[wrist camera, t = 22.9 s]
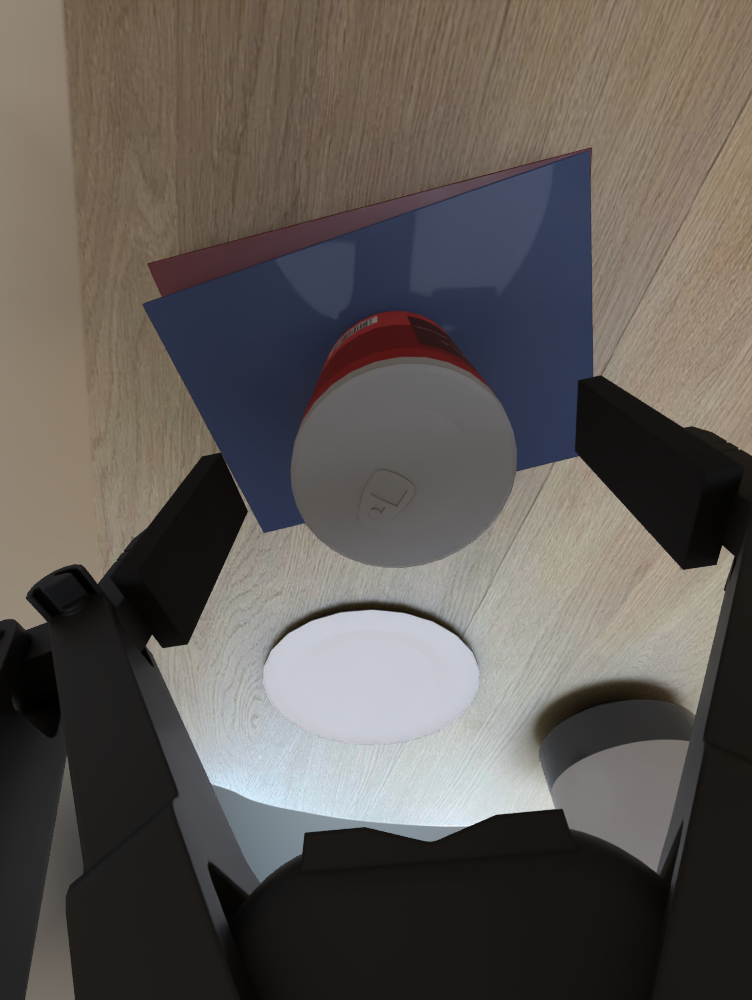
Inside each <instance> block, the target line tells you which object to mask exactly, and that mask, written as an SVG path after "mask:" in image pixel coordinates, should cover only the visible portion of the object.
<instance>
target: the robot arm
mask: <svg viewBox="0 0 752 1000" xmlns="http://www.w3.org/2000/svg"><path fill="white" fill-rule="evenodd" d="M575 452H576V453H577V454H578V455H579V456H580V457H581V458H582V459H583V461H584V462H585V463H586V464H587V465H588V466H589V467H590V468H591V469H592V470H593V472H594V473H595V474H596V475H597V476H598V477H599V478H600V479H601V480H602V481H603V482H604V484H605V485H606V486H607V487H608V488H609V489H610V490H611V491H612V492H613V493H614V495H615V496H616V497H617V498H618V499H619V500H620V501H621V502H622V503H623V504H624V505H625V507H626V508H627V509H628V510H629V511H630V512H631V513H632V514H633V515H634V516H635V518H636V519H637V520H638V521H639V522H640V523H641V524H642V525H643V526H644V527H645V529H646V530H647V531H648V532H649V533H650V534H651V535H652V536H653V537H654V538H655V539H656V541H657V542H658V543H659V544H660V545H661V546H662V547H663V548H664V549H665V550H666V552H667V553H668V554H669V555H670V556H671V557H672V558H673V559H674V560H675V561H676V562H677V564H678V565H679V566H680V567H681V568H682V569H683V570H685V569H692V568H699V567H705V566H712V565H717V561H718V558H719V554H720V551H721V548H722V545H723V546H724V547H725V548H726V549H727V550H729V551H730V552H731V553H732V554H733V555H734V560H733V563H732V566H731V569H730V572H729V575H728V578H727V581H726V585H725V588H724V591H725V595H724V599H723V603H722V607H721V611H720V616H719V620H718V624H717V628H716V632H715V637H714V641H713V645H712V649H711V653H710V658H709V662H708V666H707V670H706V674H705V679H704V683H703V687H702V691H701V695H700V700H699V704H698V708H697V712H696V716H695V721H694V725H693V729H692V733H691V737H690V742H689V746H688V750H687V754H686V758H685V763H684V767H683V771H682V775H681V779H680V784H679V788H678V792H677V796H676V800H675V805H674V809H673V813H672V817H671V821H670V825H669V829H668V832H667V836H666V839H665V842H664V846H663V849H662V853H661V857H660V860H659V864H658V868H657V872H655V871H654V870H652V869H651V868H650V867H648V866H647V865H646V864H644V863H643V862H642V861H640V860H639V859H637V858H636V857H634V856H633V855H631V854H629V853H628V852H626V851H625V850H623V849H621V848H620V847H618V846H616V845H614V844H612V843H610V842H607V841H605V840H603V839H601V838H599V837H596V836H593V835H590V834H587V833H585V832H582V831H577V830H573V829H569V826H568V823H567V820H566V817H565V814H564V811H563V809H553V810H543V811H532V812H521V813H511V814H500V815H495V816H492V817H490V818H488V819H486V820H483V821H481V822H479V823H476V824H474V825H472V826H469V827H467V828H465V829H462V830H461V831H458V832H455V833H453V834H451V835H449V836H446V837H444V838H442V839H439V840H437V841H433V842H426V841H421V840H417V839H413V838H408V837H404V836H400V835H395V834H391V833H387V832H383V831H379V830H375V829H370V828H366V827H362V828H351V829H340V830H329V831H319V832H309V833H305V835H304V844H303V852H302V854H301V855H299V856H297V857H295V858H293V859H292V860H290V861H288V862H287V863H285V864H284V865H282V866H281V867H279V868H278V869H277V870H275V871H274V872H273V873H272V874H270V875H269V876H268V877H267V878H266V879H265V880H264V881H263V882H262V883H261V884H260V883H259V881H258V879H257V878H256V876H255V875H254V873H253V872H252V870H251V868H250V867H249V865H248V864H247V862H246V860H245V858H244V856H243V854H242V852H241V849H240V847H239V845H238V843H237V841H236V838H235V836H234V834H233V832H232V829H231V827H230V825H229V823H228V821H227V819H226V816H225V814H224V812H223V810H222V807H221V805H220V803H219V801H218V799H217V796H216V794H215V792H214V790H213V788H212V785H211V783H210V781H209V779H208V776H207V774H206V772H205V770H204V768H203V765H202V763H201V761H200V759H199V757H198V754H197V752H196V750H195V748H194V746H193V743H192V741H191V739H190V737H189V735H188V732H187V730H186V728H185V726H184V724H183V721H182V719H181V717H180V715H179V712H178V710H177V708H176V706H175V704H174V701H173V699H172V697H171V695H170V693H169V690H168V688H167V686H166V684H165V682H164V679H163V677H162V675H161V673H160V671H159V668H158V666H157V664H156V662H155V659H154V657H153V655H152V653H151V652H150V651H149V650H148V648H147V647H146V644H147V643H148V641H149V639H150V637H151V635H153V636H154V637H155V639H156V640H157V641H158V643H159V644H160V645H161V647H162V648H167V647H173V646H180V645H187V644H188V643H189V640H190V638H191V636H192V634H193V632H194V629H195V627H196V625H197V623H198V620H199V618H200V616H201V614H202V612H203V609H204V607H205V605H206V603H207V601H208V598H209V596H210V594H211V592H212V590H213V587H214V585H215V583H216V581H217V579H218V576H219V574H220V572H221V570H222V568H223V565H224V563H225V561H226V559H227V557H228V554H229V552H230V550H231V548H232V545H233V543H234V541H235V539H236V537H237V534H238V532H239V530H240V528H241V526H242V523H243V521H244V519H245V517H246V515H247V512H248V511H247V508H246V506H245V504H244V502H243V500H242V497H241V495H240V493H239V491H238V489H237V486H236V484H235V482H234V480H233V478H232V476H231V473H230V471H229V469H228V467H227V465H226V462H225V460H224V458H223V456H222V454H221V453H217V454H212V455H207V456H202V457H201V459H200V460H199V461H198V463H197V464H196V465H195V466H194V468H193V469H192V470H191V472H190V473H189V474H188V476H187V477H186V478H185V479H184V481H183V482H182V483H181V485H180V486H179V487H178V489H177V490H176V491H175V492H174V494H173V495H172V496H171V498H170V499H169V500H168V502H167V503H166V504H165V505H164V507H163V508H162V509H161V511H160V512H159V513H158V515H157V516H156V517H155V519H154V520H153V521H152V522H151V524H150V525H149V526H148V528H147V529H145V530H144V531H143V532H142V533H140V534H139V535H138V536H137V537H135V538H134V539H133V540H132V541H131V542H130V544H129V545H128V546H127V547H126V549H125V550H124V553H122V554H121V555H120V556H119V558H118V559H117V562H115V563H114V564H113V565H112V567H111V568H110V569H109V570H108V572H107V573H106V574H105V575H104V577H103V578H102V579H101V581H100V582H99V583H98V584H97V583H96V581H95V580H94V579H93V578H92V576H91V575H90V574H89V572H88V571H87V570H86V569H85V567H83V566H82V565H76V564H74V565H70V566H66V567H63V568H61V569H58V570H56V571H54V572H52V573H50V574H49V575H47V576H45V577H44V578H43V579H41V580H40V581H39V582H37V583H36V584H35V585H34V586H33V587H32V588H31V590H30V591H29V592H28V594H27V597H26V599H27V600H28V601H29V602H30V603H31V604H32V606H33V607H34V608H35V609H36V610H37V611H38V612H39V613H40V614H41V615H42V616H43V617H44V618H45V620H46V621H47V623H44V624H41V625H39V626H36V627H33V628H31V629H28V630H25V629H24V628H23V627H22V626H21V625H20V624H19V623H18V622H17V621H15V620H14V619H7V620H3V621H0V1000H25V996H26V989H27V984H28V978H29V972H30V966H31V960H32V955H33V949H34V943H35V938H36V931H37V926H38V920H39V914H40V908H41V902H42V897H43V891H44V885H45V879H46V873H47V868H48V862H49V856H50V850H51V844H52V838H53V833H54V827H55V821H56V815H57V809H58V803H59V797H60V792H61V786H62V780H63V774H64V768H65V763H66V757H67V756H68V763H69V770H70V776H71V783H72V790H73V797H74V804H75V810H76V816H77V824H78V831H79V837H80V844H81V851H82V857H83V864H84V865H83V866H84V873H83V875H82V876H80V877H79V878H78V879H77V880H76V881H74V882H73V883H72V884H71V885H70V887H69V890H68V892H67V895H66V919H67V927H68V936H69V947H70V956H71V966H72V975H73V983H74V994H75V1000H752V456H751V455H749V454H748V453H746V452H744V451H743V450H738V447H736V446H734V445H733V444H731V443H727V442H726V440H724V439H722V438H721V437H719V436H717V435H716V434H714V433H712V432H709V431H706V430H702V429H699V428H696V427H692V426H691V427H686V428H683V427H681V426H680V425H678V424H677V423H675V422H674V421H672V420H670V419H669V418H667V417H666V416H664V415H662V414H661V413H659V412H658V411H656V410H655V409H653V408H651V407H650V406H648V405H647V404H645V403H644V402H642V401H640V400H639V399H637V398H636V397H634V396H633V395H631V394H629V393H628V392H626V391H625V390H623V389H622V388H620V387H618V386H617V385H615V384H614V383H612V382H611V381H609V380H607V379H606V378H604V377H603V376H596V377H591V378H586V379H581V380H578V392H577V414H576V436H575Z"/></svg>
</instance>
